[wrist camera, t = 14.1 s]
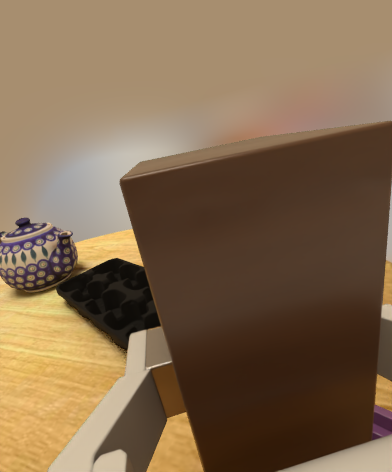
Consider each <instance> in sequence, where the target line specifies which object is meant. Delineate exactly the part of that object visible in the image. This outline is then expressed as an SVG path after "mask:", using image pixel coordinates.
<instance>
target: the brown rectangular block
mask: <svg viewBox="0 0 392 472" xmlns="http://www.w3.org/2000/svg"><path fill="white" fill-rule="evenodd" d="M391 183H392V121H385V122H377V123H369V124H362V125H354V126H345V127H337V128H329V129H321V130H314V131H305V132H297V133H289V134H281V135H273V136H265V137H259V138H255V139H249V140H244V141H239V142H234V143H230V144H225V145H220V146H215V147H210V148H205V149H201V150H196V151H191V152H186V153H181V154H176V155H172V156H167V157H162V158H157V159H152V160H147V161H142V162H140V163H138V164H137V165H136V166H135V167H134V168H132V169H131V170H130V171H129V172H128V173H127V174H125V175H124V176H123V177H122V178H121V179H120V186H121V190H122V193H123V197H124V200H125V204H126V207H127V210H128V214H129V217H130V221H131V224H132V227H133V231H134V234H135V238H136V241H137V245H138V248H139V252H140V255H141V258H142V262H143V265H144V269H145V272H146V275H147V279H148V282H149V286H150V289H151V293H152V296H153V299H154V303H155V306H156V310H157V313H158V317H159V320H160V323H161V327H162V330H163V334H164V337H165V341H166V344H167V347H168V351H169V354H170V358H171V361H172V365H173V368H174V371H175V375H176V378H177V382H178V385H179V388H180V392H181V395H182V399H183V402H184V406H185V409H186V412H187V416H188V419H189V423H190V426H191V430H192V433H193V436H194V440H195V443H196V447H197V450H198V454H199V457H200V460H201V464H202V467H203V471H204V472H277V471H280V470H283V469H286V468H289V467H292V466H295V465H298V464H301V463H304V462H307V461H311V460H314V459H317V458H320V457H323V456H326V455H329V454H332V453H335V452H338V451H341V450H344V449H348V448H351V447H354V446H357V445H360V444H363V443H366V442H369V441H372V434H373V421H374V407H375V394H376V381H377V368H378V355H379V341H380V328H381V315H382V302H383V289H384V275H385V262H386V249H387V236H388V223H389V210H390V196H391Z"/></svg>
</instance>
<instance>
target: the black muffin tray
mask: <svg viewBox="0 0 392 472" xmlns="http://www.w3.org/2000/svg"><path fill="white" fill-rule="evenodd" d="M56 290H57V293H58V295H60V296H61V297H63V298H64V299H65V300H66V301H67V303H68V304H69V305H70V306H72V307H75V308H77V309H78V311H79V313H80V314H81V315H82V316H83V317H86V318H89V319H90V320H92V321H93V323H94V325H95V326H96V327H97V328H99V329H100V330H101V331H104V332H106V333H108V334H109V335H110V336H111V338H112V340H113V341H114V342H115V343H116V344H117V345H118V346H120V347H121V348H123V349H127V350H128V344H129V337H130V335H131V333H135V332H138V331H142V330H147V329H150V328H154V327H159V326H161V323H160V320H159V317H158V313H157V310H156V306H155V303H154V299H153V296H152V293H151V289H150V286H149V282H148V279H147V275H146V272H145V269H144V267H142V266H139V265H136V264H133V263H130V262H127V261H124V260H122V259H118V258H115V259H111V260H108V261H106V262H104V263H102V264H100V265H98V266H96V267H94V268H91V269H89V270H87V271H86V272H84V273H82V274H79V275H77V276H75V277H73V278H71V279H69V280H67V281H65V282H63V283H61V284H60V285H58V286H57V288H56Z"/></svg>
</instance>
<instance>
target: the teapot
mask: <svg viewBox="0 0 392 472" xmlns="http://www.w3.org/2000/svg"><path fill="white" fill-rule="evenodd" d="M16 225H18V226H19V228H18V229H16V230H13V231H12V232H10V233H6V232H0V276H1V278H2V279H3V280H4V281H5V283H6V284H8V285H9V286H10V287H12V288H15V289H19V290H24V291H26V292H30V293H33V292H39V291H43V290H46V289H49V288H52V287H54V286H56V285H58V284H60V283H62V282H63V281H65V280H66V279H67V278H69V277H70V275H71V274H72V271H73V270H74V268H75V266H76V264H77V259H78V255H77V250H76V246H75V244H74V242H73V240H72V239H71V236H72V234H73V233H72V232H71V231H63V230H61V229H59V228H56V227H53V226H52V224H50V223H35V224H30V219H29V218H21V219H19V220H17V221H16Z"/></svg>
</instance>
